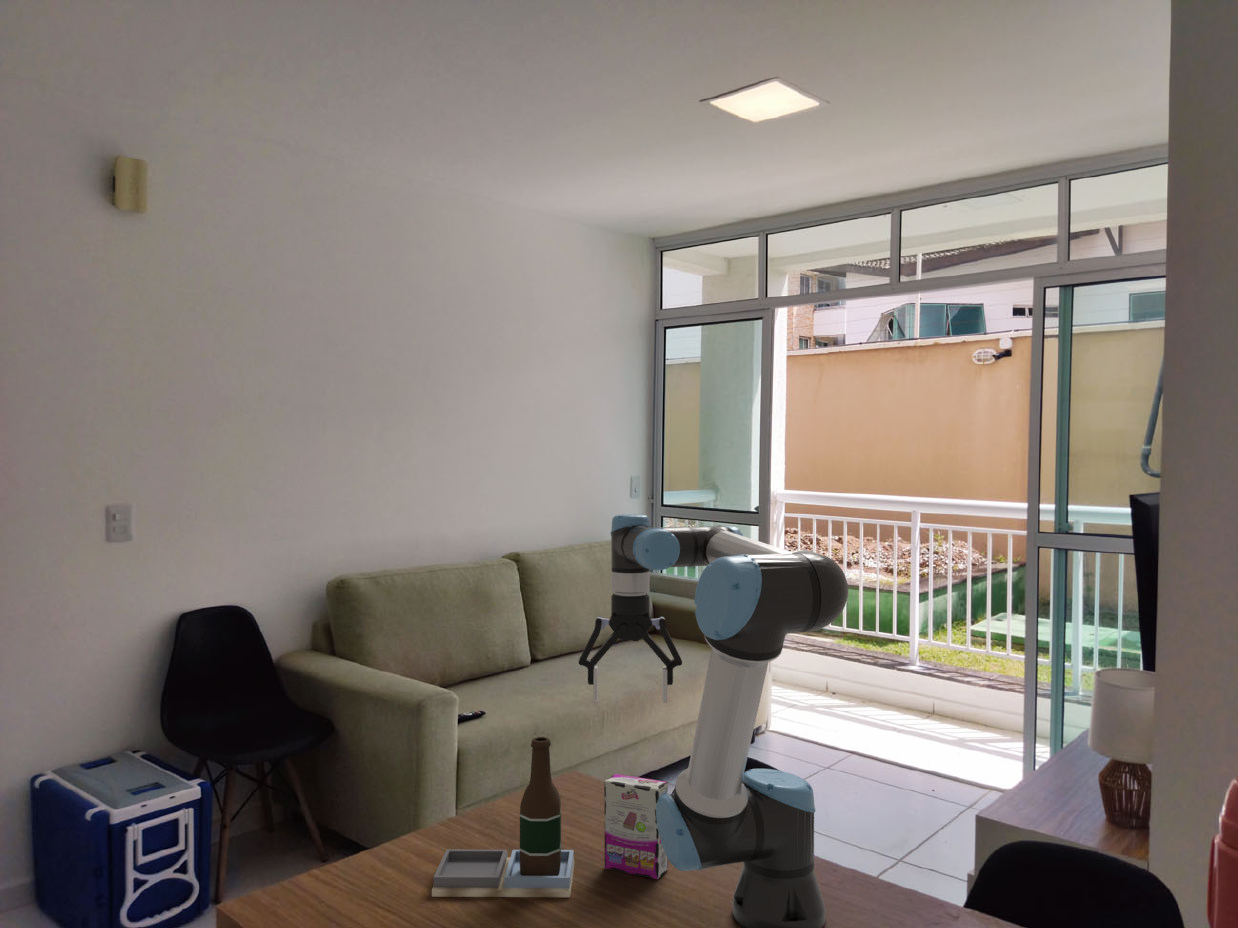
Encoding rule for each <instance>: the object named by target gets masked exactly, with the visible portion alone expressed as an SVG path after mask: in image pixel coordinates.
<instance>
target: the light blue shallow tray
mask: <svg viewBox="0 0 1238 928" xmlns="http://www.w3.org/2000/svg"><path fill="white" fill-rule="evenodd" d="M573 860H574V861H575V856H574V849H561V867H560V872H559V875H558V876H521V874H520V849H512V851H511V855H510V860H509V864H508V867H507V870H506V874H505V877H504V888H570V882H571V875H572V867H573Z"/></svg>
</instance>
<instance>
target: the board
mask: <svg viewBox="0 0 1238 928" xmlns="http://www.w3.org/2000/svg"><path fill="white" fill-rule="evenodd" d="M510 857H511V856H510ZM510 857H509V856H507V862H506V865H505V869H504V872H503V875H502V878H501V882H500V885H499V888H433V887H432V889H431V897H432V898H433V897H435V898H436V897H439V898H442V897H444V898H446V897H447V898H450V897H451V898H455V897H456V898H463V897H465V898H571V893H572V892H571V891H572V885H573V877H574V870H575V869H574V868H575V859H574V860H573V867H572V875H571V882H570V888H504V877H505V874H506V870H507V867H508V864H509V860H510Z"/></svg>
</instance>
